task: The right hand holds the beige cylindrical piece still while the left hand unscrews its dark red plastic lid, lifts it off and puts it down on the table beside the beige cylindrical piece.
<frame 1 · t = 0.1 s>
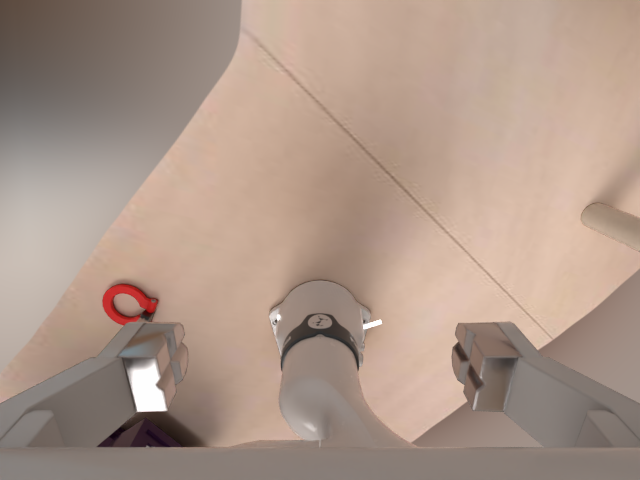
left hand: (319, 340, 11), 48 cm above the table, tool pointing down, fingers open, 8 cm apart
projector: (134, 460, 81), on the table
tow hook: (130, 304, 66), on the table
beige cylindrical piece: (594, 215, 59), on the table
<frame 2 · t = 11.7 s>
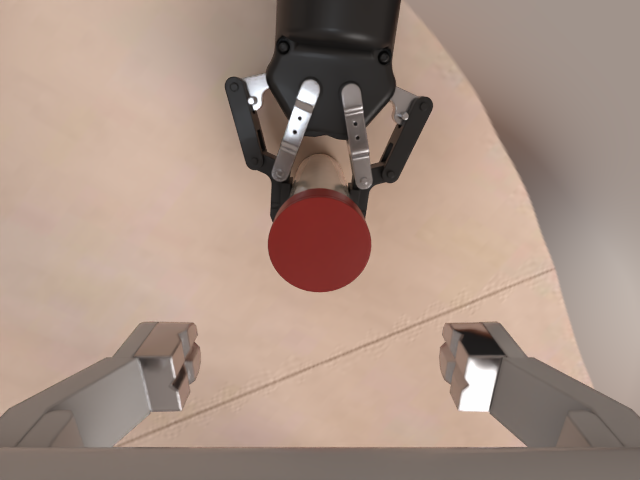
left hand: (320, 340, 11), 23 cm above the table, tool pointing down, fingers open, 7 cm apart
right hand: (316, 229, 27), fingers closed on beige cylindrical piece, 4 cm apart
beige cylindrical piece: (319, 177, 32), on the table, touching right hand
lid: (319, 244, 18), point 16 cm above the table, screwed on, not yet turned
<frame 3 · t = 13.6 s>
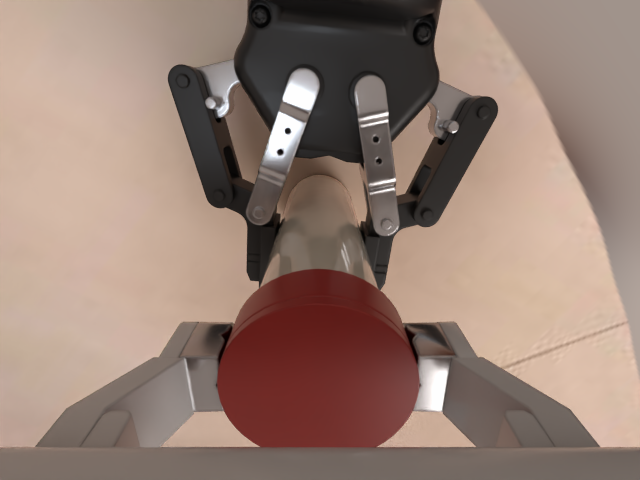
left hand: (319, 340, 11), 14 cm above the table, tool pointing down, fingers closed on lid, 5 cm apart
right hand: (315, 287, 19), fingers closed on beige cylindrical piece, 4 cm apart
beige cylindrical piece: (319, 206, 24), on the table, touching right hand
lid: (318, 380, 9), point 16 cm above the table, screwed on, not yet turned, touching left hand
when the left hand's fingers open (14 cm above the table, at t = 15.1 s): lid stays where it is, point 16 cm above the table.
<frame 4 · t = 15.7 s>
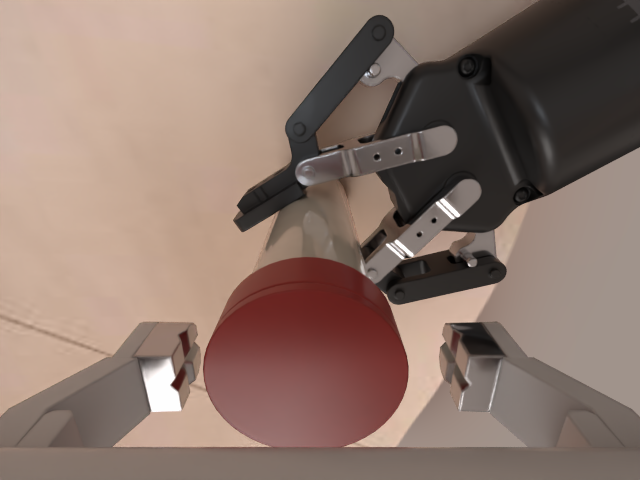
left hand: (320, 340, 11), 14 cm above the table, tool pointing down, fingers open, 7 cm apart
right hand: (269, 259, 19), fingers closed on beige cylindrical piece, 4 cm apart
beige cylindrical piece: (314, 200, 24), on the table, touching right hand
lid: (306, 369, 9), point 16 cm above the table, turned 91° so far, risen 0.2 cm, still on its thread
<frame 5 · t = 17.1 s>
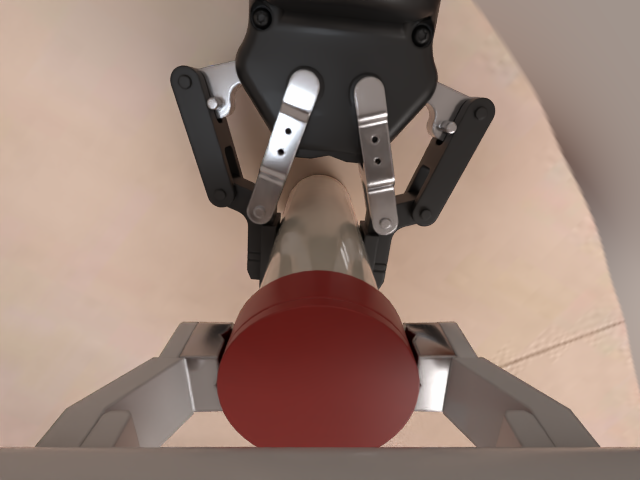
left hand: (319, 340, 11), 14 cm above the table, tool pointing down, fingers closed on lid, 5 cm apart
right hand: (314, 286, 19), fingers closed on beige cylindrical piece, 4 cm apart
beige cylindrical piece: (319, 206, 24), on the table, touching right hand
lid: (318, 382, 9), point 16 cm above the table, turned 91° so far, risen 0.2 cm, still on its thread, touching left hand
when the left hand's fingers open (2 cm above the table, at t = 23.3 s): lid drops 2 cm, point 1 cm above the table.
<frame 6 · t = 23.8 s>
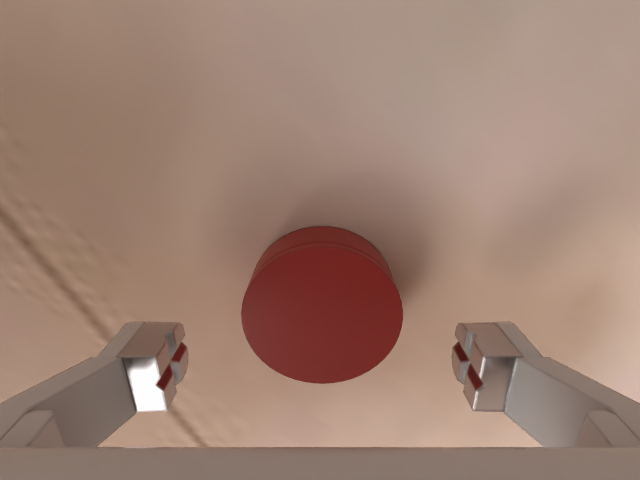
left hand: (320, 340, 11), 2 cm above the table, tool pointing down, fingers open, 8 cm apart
lid: (322, 314, 11), point 1 cm above the table, off its thread
when the right hand's fingers open (6 cm above the table, at t = 24.4 s): beige cylindrical piece stays where it is, on the table.
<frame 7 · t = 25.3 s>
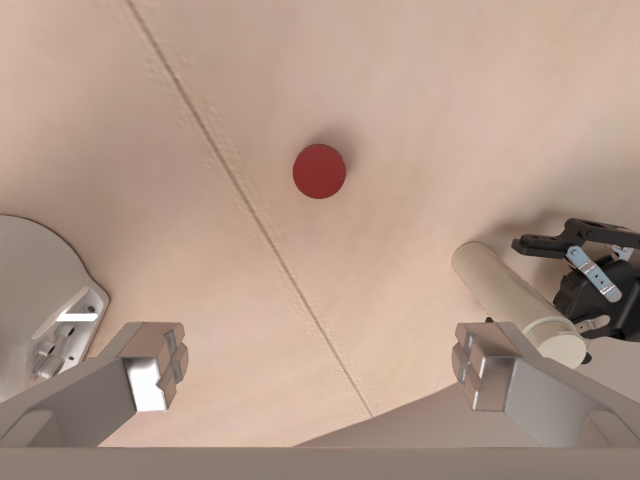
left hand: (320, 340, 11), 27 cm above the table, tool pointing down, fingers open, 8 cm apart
right hand: (501, 288, 33), fingers open, 8 cm apart
beige cylindrical piece: (471, 259, 39), on the table
lid: (319, 172, 34), point 1 cm above the table, off its thread
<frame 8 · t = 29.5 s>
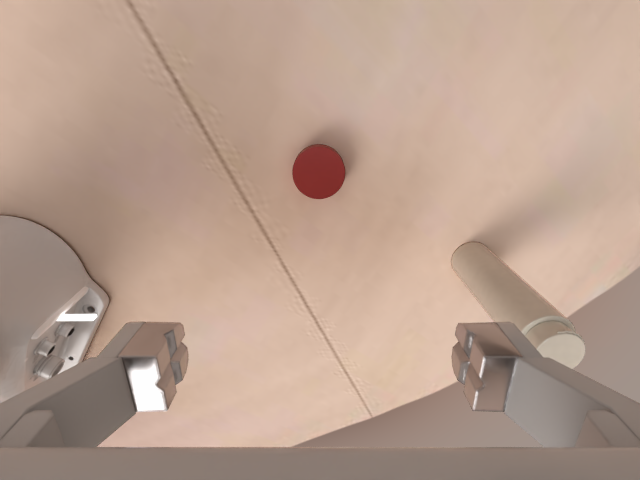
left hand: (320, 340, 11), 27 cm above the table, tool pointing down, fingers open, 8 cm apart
beige cylindrical piece: (470, 259, 39), on the table
lid: (318, 172, 34), point 1 cm above the table, off its thread
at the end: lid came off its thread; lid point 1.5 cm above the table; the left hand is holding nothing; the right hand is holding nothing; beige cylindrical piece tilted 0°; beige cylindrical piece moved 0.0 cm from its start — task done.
